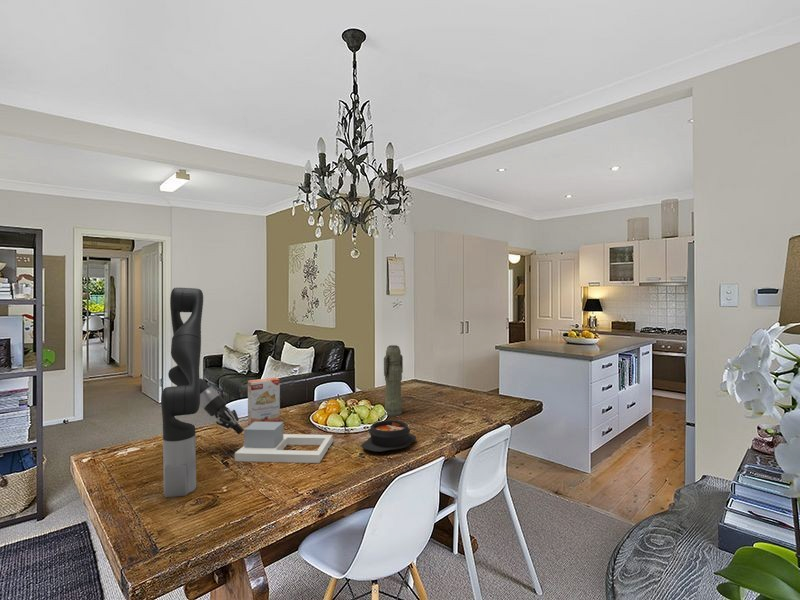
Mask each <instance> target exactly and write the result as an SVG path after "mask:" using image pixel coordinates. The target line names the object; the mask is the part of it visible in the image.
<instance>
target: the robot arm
mask: <svg viewBox="0 0 800 600" xmlns="http://www.w3.org/2000/svg"><path fill="white" fill-rule="evenodd" d="M203 306H204V293H203V290H202V289H200V288H196V287H195V288H194V287H174V288H172V289H171V293H170V298H169V307H170V308H169V309H170V317H171V326H172V333H173V334H172V337H171V345H170V355H171V358H172V360H173V361H174V363H175V364H176V365H175V366H174V367H172V368H171V367H170V369H169V371H168V373H167V375H168V379H169V380H170V382H171V383H172V384H173V385H175V386H166V387H164V388H163V390H162V391H161V398H160V399H161V401H160V404H161V405H160V406H161V416H162V417H161V418H162V446H163V447H162V456H163V457H162V459H163V461H162V462H163V465H162V467H163V468H162V469H163V471H162V472H163V473H162V474H163V494H164V498H173V497H174V498H175V497H184V496H188V494H191V493H192V492H194V491H195V490H196V488H197V454H196V451H197V450H196V449H197V447H196V446H197V442H196V439H197V436H196V435H197V434H196V426H195V424H193V423H189V422H185V421H181V420H179V419H178V418H176V417H177V416H178V417H179V416H180V417H181V416H186V415H187V416H189V415H194V414H197V412H198V411H199V409H200V406H201V408H202V409H203V410H205V412H207V414H208V415H209V416H210V417H214V416H215V418H216V419H217V420H216V422H215V423H216V424H217V425H219V426H220V427H223V428H225V429H228V430H229V429H232V430H234V432H235V433H237V435H240V434H242V433H244V429H245V428H243V427H242V426H241V425H240V424H239V420H240V419H239V417H238V414H237V412H236V410H235V409H232V410H231V409H230V408H229V407H227V404H228V402H227V401H226V400H225V399H224V398H223V397H222V395H220V394H219V392H217V391H216V390H215V389H214V388H212V387H211V386H210V385H209V384H208V383H207V381H205V380H204V378H200V363H201V353H202V352H201V350H202V348H201V347H202V330H201V329H202V316H203V308H204V307H203ZM181 313H191V314H190V315H189V317H188V318H187V320H186V321H185V322H183V320H182V317H181Z"/></svg>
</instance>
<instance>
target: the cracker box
mask: <svg viewBox="0 0 800 600" xmlns="http://www.w3.org/2000/svg"><path fill="white" fill-rule="evenodd" d="M280 381H281V380H280V379H279V378H278V377H276V376H275V377H268V378H260V379H251V380H247V424H248V425H251V424H252V423H253V422H281V421H280V419H281V418H280V417H281V415H280V412H281V407H280V406H281V404H280V403H281V400H280V399H281V394H280V393H281V392H280V391H281V390H280V389H281V388H280V387H281V382H280Z"/></svg>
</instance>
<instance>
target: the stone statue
mask: <svg viewBox="0 0 800 600" xmlns="http://www.w3.org/2000/svg"><path fill="white" fill-rule="evenodd" d="M401 353H402V352H401V348H400V346H399V345H397V344H395V345H393V344H392V345H388V346H387V347H386V350H385V355H384V357H383V376H384V381H385V400H384V409H385V410H386V412H387V414H388V415H387V416H390V417H394V416H395V417H397V416H401V415H402V413H403V412H402V410H403V399H402V380H403V372H404V371H403V369H404V367H403V365H404V364H403V360H404V359H403V355H402V354H401Z"/></svg>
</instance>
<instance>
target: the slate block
mask: <svg viewBox="0 0 800 600" xmlns="http://www.w3.org/2000/svg"><path fill="white" fill-rule="evenodd" d="M243 429H244V431H243V438H244V439H243V446H244V447H248V448H275V447H276V446H277V445H278V444H279V443H280V442H281V441H282V440H283V434H284V421H278V422H253V423H252V424H251V425H250V424H248V426H247V427H245V428H243Z"/></svg>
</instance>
